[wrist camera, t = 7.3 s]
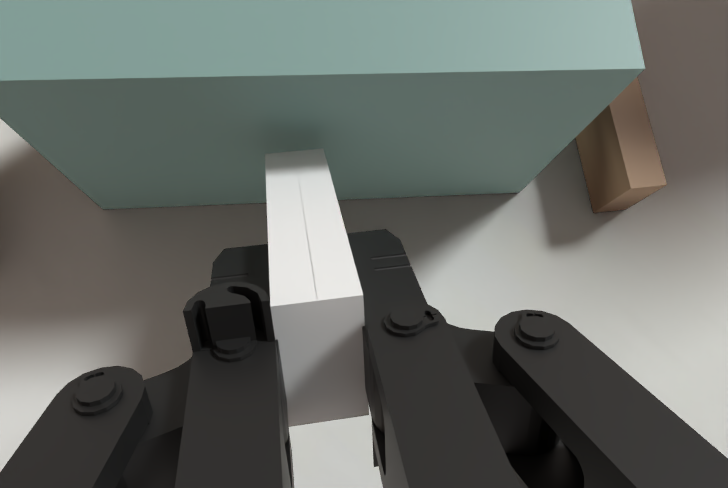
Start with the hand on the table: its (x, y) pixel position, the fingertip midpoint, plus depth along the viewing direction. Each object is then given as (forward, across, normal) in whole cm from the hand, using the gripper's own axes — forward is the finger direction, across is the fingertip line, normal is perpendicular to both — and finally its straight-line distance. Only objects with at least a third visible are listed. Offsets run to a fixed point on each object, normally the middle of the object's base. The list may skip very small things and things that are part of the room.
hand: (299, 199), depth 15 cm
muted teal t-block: (+9, +1, +3) cm, 9 cm away
